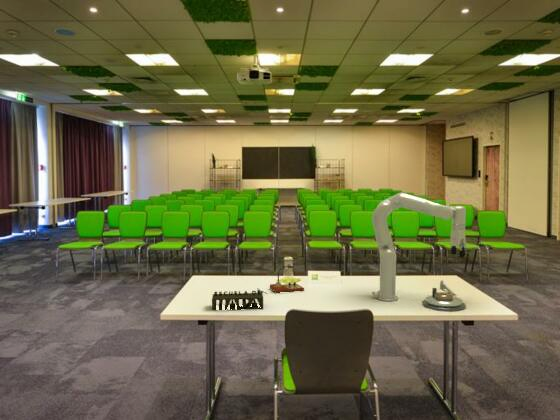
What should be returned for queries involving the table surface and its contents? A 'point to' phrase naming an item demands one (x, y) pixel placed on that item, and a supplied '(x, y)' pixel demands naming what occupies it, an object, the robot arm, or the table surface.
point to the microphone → (284, 288)
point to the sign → (236, 297)
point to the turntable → (443, 299)
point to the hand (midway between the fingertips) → (457, 255)
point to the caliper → (445, 287)
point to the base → (444, 307)
